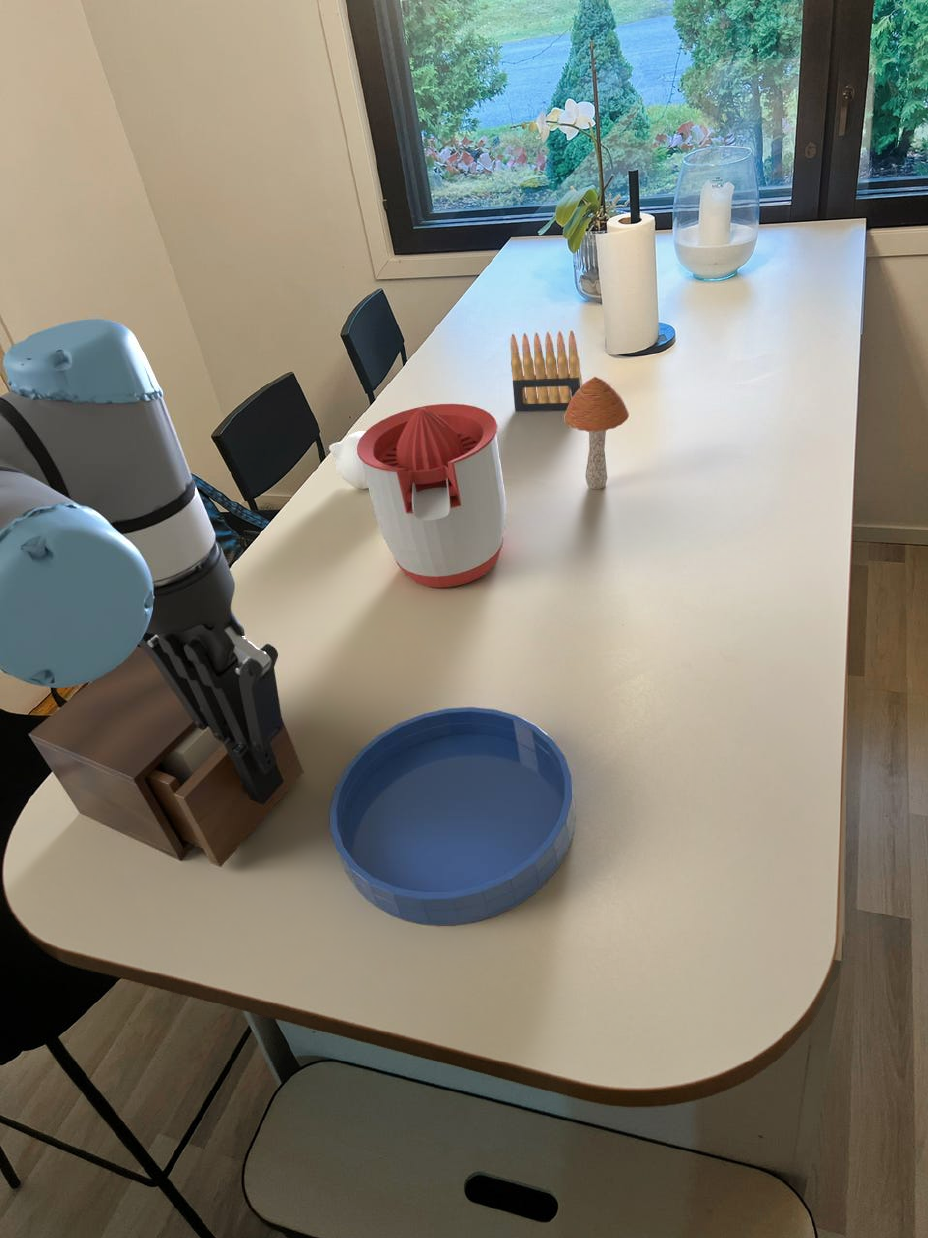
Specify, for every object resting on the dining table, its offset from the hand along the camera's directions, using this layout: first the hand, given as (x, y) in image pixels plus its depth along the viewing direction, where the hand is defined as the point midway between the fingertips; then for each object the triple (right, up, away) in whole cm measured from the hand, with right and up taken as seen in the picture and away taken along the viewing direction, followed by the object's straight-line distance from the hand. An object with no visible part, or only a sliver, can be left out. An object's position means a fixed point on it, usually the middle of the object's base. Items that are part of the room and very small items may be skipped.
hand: (267, 790), depth 73 cm
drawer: (-6, -2, +6) cm, 9 cm away
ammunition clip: (+30, +47, +62) cm, 83 cm away
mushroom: (+34, +32, +41) cm, 62 cm away
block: (-6, -1, +6) cm, 9 cm away
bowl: (+16, -3, +1) cm, 16 cm away
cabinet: (-11, -2, +10) cm, 15 cm away
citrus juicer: (+15, +21, +32) cm, 41 cm away
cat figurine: (+5, +33, +51) cm, 60 cm away
